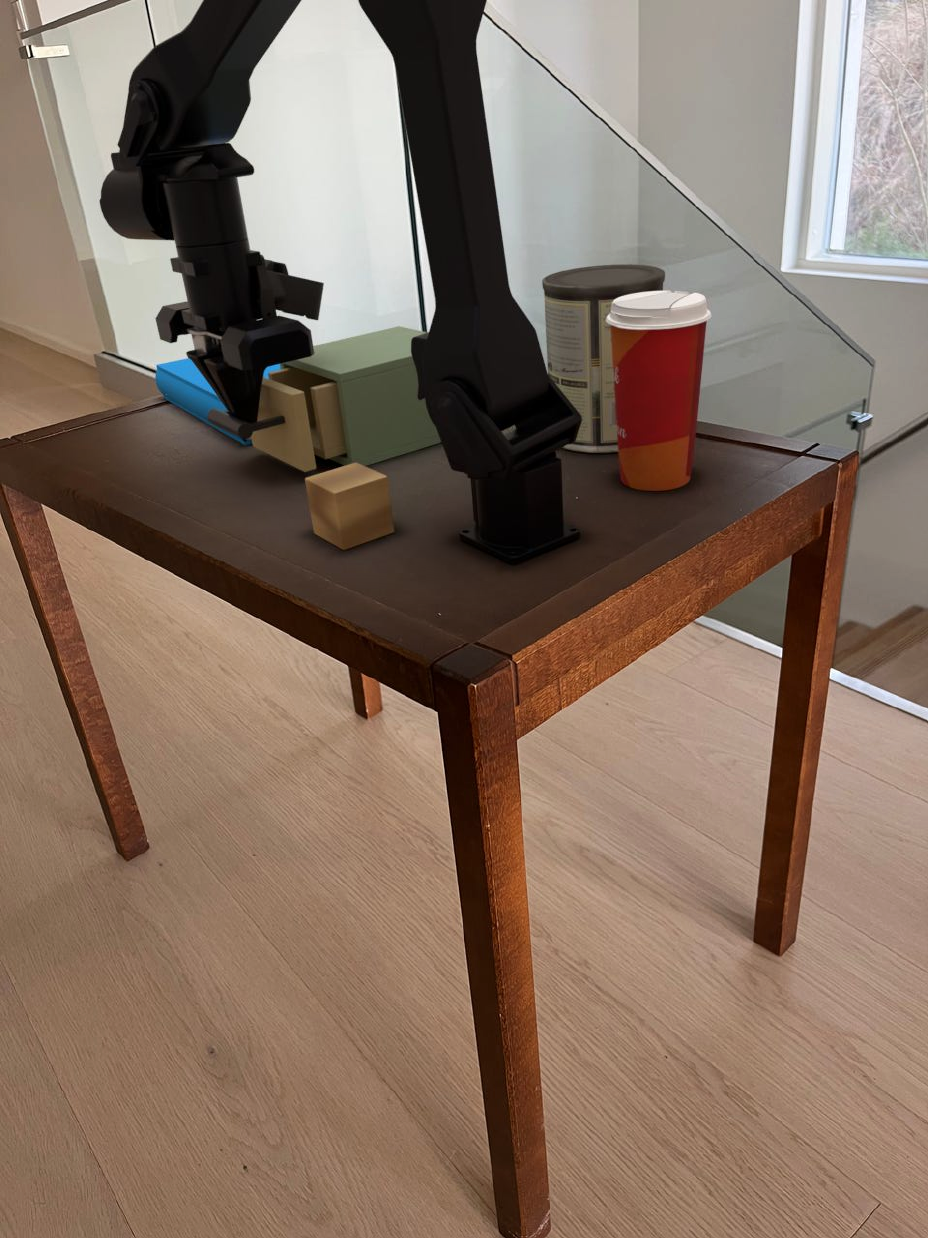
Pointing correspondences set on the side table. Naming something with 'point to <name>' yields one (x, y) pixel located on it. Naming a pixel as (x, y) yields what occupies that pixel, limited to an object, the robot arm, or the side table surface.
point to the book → (193, 390)
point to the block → (350, 505)
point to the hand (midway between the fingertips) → (249, 430)
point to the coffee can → (589, 342)
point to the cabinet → (375, 394)
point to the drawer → (292, 419)
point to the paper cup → (657, 384)
